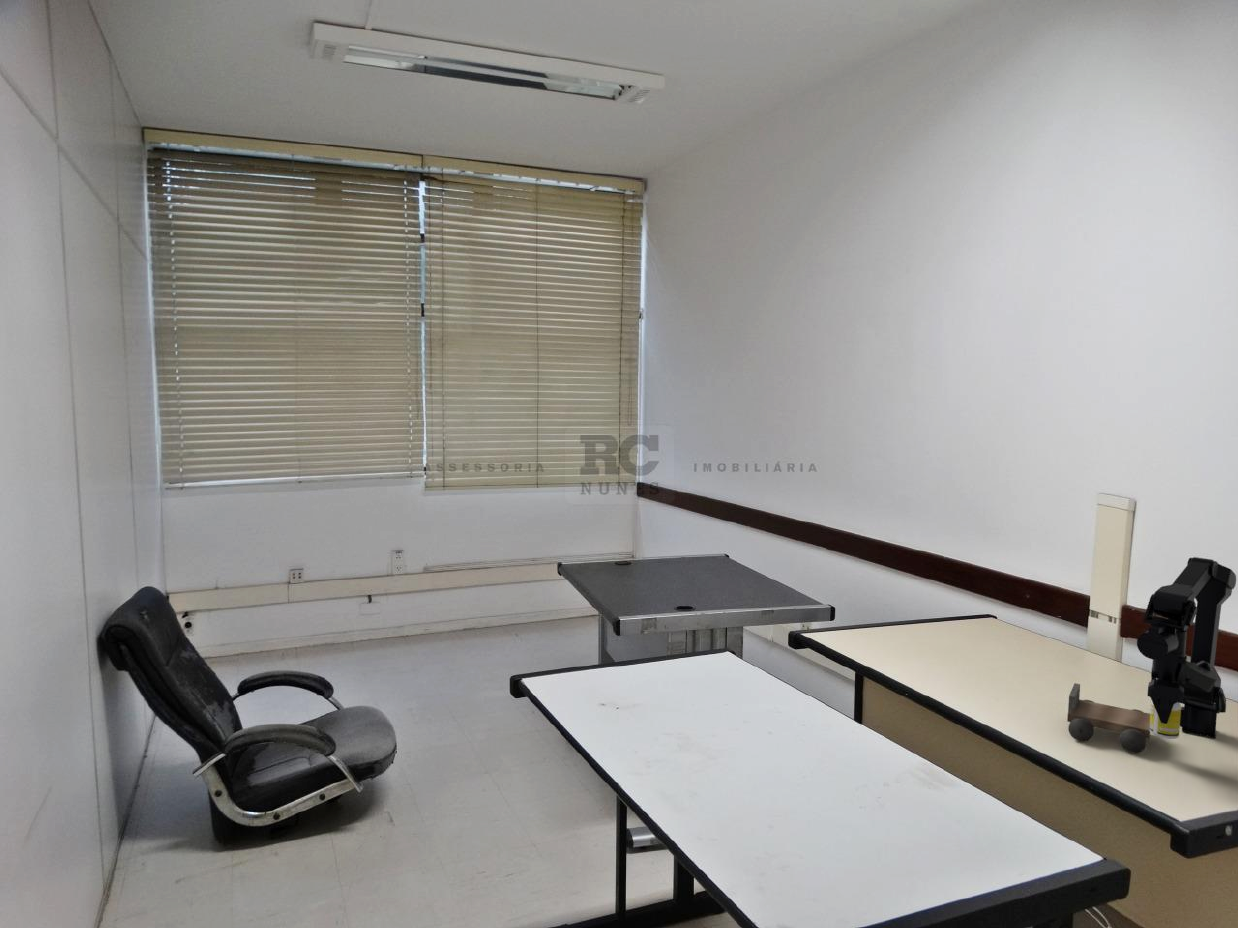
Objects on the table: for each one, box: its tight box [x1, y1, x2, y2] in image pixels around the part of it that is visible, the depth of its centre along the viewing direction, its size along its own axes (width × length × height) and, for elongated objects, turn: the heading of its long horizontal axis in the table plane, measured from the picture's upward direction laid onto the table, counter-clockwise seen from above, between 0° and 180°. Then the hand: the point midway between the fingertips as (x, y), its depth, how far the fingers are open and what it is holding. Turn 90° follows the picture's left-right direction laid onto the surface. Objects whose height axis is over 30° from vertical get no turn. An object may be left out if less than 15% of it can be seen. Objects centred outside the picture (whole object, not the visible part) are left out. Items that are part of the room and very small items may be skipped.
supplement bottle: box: [1149, 700, 1182, 740], centre depth 175 cm, size 5×5×10 cm
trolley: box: [1066, 682, 1151, 754], centre depth 187 cm, size 16×15×9 cm
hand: (1164, 718), depth 175 cm, fingers closed on supplement bottle, 5 cm apart
